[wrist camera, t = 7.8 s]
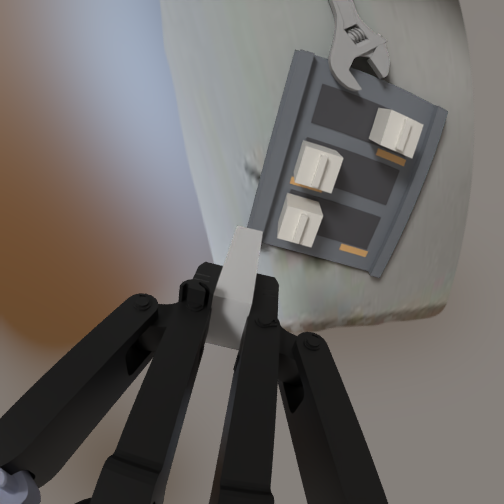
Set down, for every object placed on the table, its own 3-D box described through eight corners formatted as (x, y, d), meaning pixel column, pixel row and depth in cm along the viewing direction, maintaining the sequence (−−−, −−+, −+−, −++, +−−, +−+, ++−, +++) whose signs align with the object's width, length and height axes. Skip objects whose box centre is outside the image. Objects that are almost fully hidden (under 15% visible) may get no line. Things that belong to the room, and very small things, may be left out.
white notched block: (378, 107, 26) (393, 110, 22) (407, 120, 26) (426, 125, 22) (368, 138, 27) (382, 145, 23) (397, 150, 27) (414, 159, 23)
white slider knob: (303, 140, 28) (306, 146, 24) (336, 150, 28) (344, 159, 24) (293, 172, 30) (294, 184, 26) (325, 181, 30) (332, 195, 26)
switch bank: (294, 51, 25) (295, 48, 23) (442, 111, 26) (451, 113, 24) (245, 233, 36) (243, 241, 34) (378, 269, 37) (382, 279, 35)
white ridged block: (287, 192, 31) (287, 207, 27) (318, 201, 31) (323, 218, 27) (278, 222, 33) (277, 240, 29) (308, 230, 33) (311, 250, 29)
